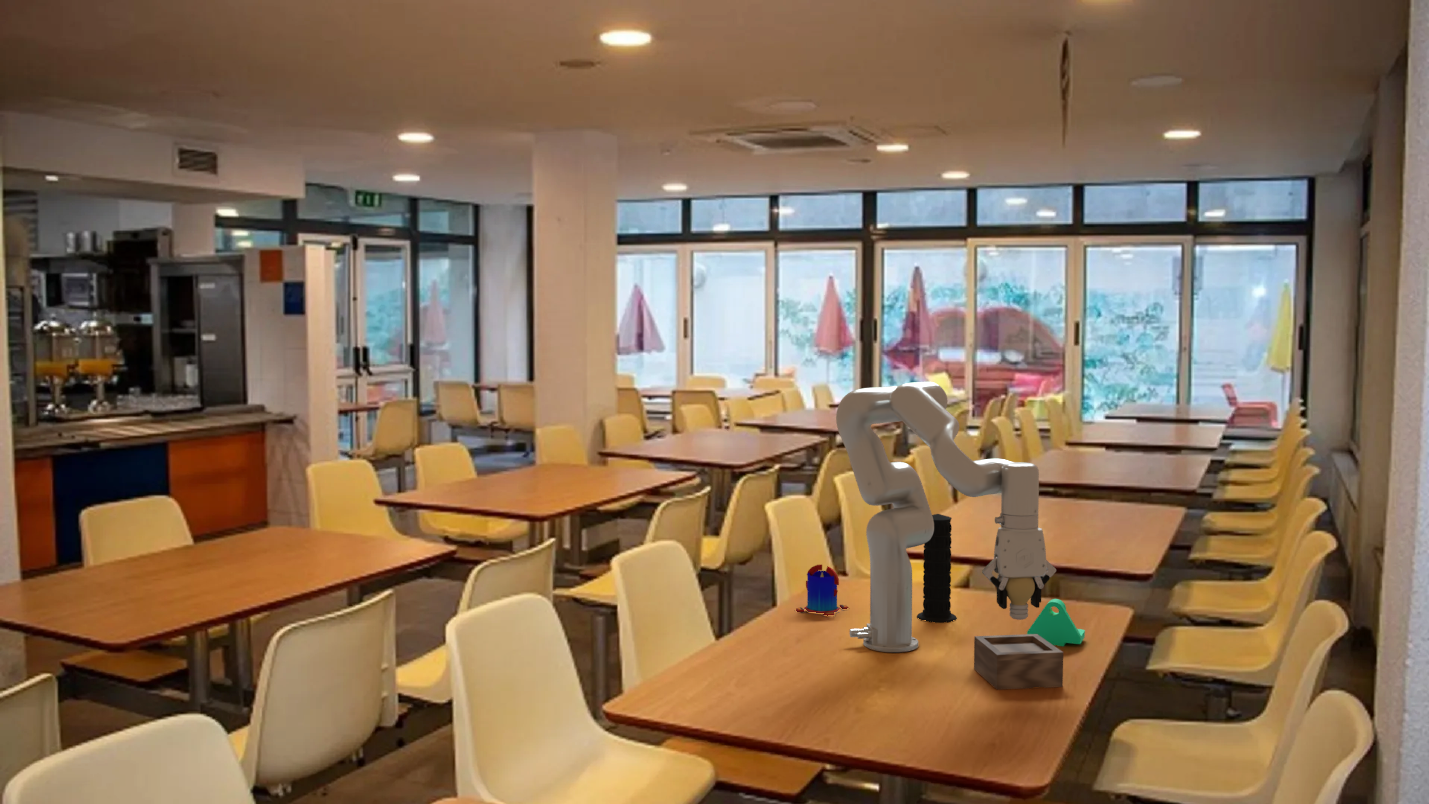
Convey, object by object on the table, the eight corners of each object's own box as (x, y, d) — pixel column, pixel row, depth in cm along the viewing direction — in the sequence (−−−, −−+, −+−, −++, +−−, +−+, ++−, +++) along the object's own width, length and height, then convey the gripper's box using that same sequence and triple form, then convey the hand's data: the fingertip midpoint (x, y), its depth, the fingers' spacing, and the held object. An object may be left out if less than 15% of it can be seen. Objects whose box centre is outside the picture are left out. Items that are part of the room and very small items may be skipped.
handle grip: (941, 611, 307) (908, 615, 303) (942, 509, 305) (909, 512, 301) (965, 620, 298) (931, 624, 294) (966, 515, 296) (932, 518, 292)
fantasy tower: (852, 608, 310) (853, 562, 310) (832, 618, 300) (832, 571, 300) (812, 602, 317) (812, 558, 316) (791, 612, 307) (791, 566, 306)
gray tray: (996, 689, 243) (997, 654, 243) (974, 669, 257) (974, 636, 257) (1062, 686, 245) (1063, 652, 244) (1036, 666, 259) (1037, 634, 258)
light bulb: (1035, 623, 246) (1035, 575, 246) (1003, 621, 248) (1004, 574, 247) (1033, 615, 252) (1034, 568, 252) (1002, 614, 254) (1002, 567, 253)
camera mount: (1085, 640, 280) (1086, 597, 279) (1080, 649, 273) (1081, 604, 272) (1033, 634, 285) (1034, 592, 284) (1026, 642, 278) (1027, 599, 277)
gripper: (985, 526, 244) (984, 612, 245) (1066, 523, 246) (1065, 609, 247) (973, 520, 251) (972, 604, 253) (1052, 517, 253) (1051, 601, 255)
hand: (1018, 606), depth 250 cm, fingers closed on light bulb, 6 cm apart
